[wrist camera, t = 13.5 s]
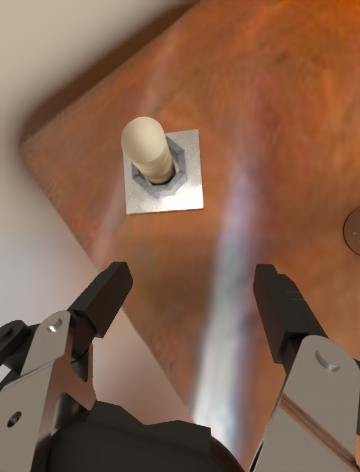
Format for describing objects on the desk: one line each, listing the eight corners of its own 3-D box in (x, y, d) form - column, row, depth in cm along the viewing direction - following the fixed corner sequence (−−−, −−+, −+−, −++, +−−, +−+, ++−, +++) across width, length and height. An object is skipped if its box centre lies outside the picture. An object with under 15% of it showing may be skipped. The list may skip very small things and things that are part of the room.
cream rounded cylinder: (166, 154, 28) (148, 107, 18) (181, 178, 27) (172, 144, 17) (142, 170, 28) (112, 134, 18) (157, 194, 28) (135, 170, 18)
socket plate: (197, 134, 29) (198, 115, 24) (202, 209, 28) (204, 203, 24) (125, 143, 30) (114, 127, 25) (130, 215, 30) (118, 211, 25)
